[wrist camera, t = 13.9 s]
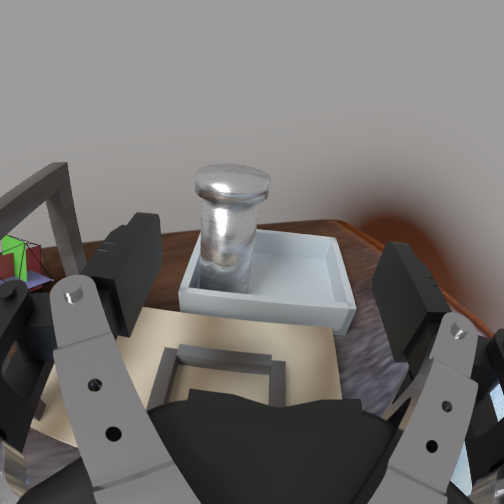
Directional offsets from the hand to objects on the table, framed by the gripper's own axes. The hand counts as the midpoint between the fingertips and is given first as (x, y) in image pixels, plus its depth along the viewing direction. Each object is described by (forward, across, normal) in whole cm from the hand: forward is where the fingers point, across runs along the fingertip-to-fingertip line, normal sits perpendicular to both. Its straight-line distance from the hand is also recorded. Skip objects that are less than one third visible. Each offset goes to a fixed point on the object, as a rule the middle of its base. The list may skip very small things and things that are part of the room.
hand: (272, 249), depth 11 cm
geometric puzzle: (+6, +20, +13) cm, 25 cm away
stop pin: (+10, +2, +12) cm, 16 cm away
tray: (+12, -1, +12) cm, 17 cm away
